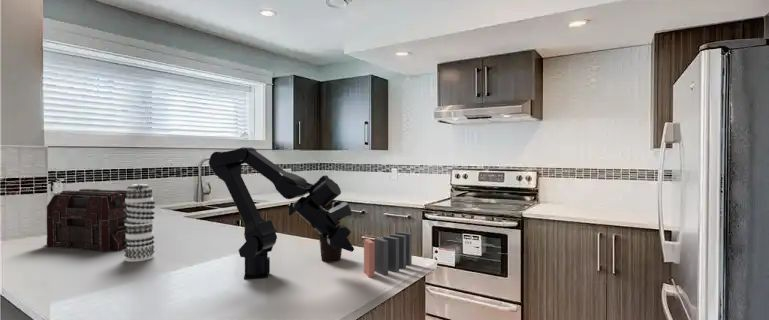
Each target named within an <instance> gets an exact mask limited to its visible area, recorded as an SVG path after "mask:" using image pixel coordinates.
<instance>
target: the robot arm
mask: <svg viewBox="0 0 769 320" xmlns="http://www.w3.org/2000/svg"><path fill="white" fill-rule="evenodd" d="M208 164H209V167H210V169H211V171H212V172H213V173H214V175H215V176H217V178H219V179H220V180H221V181H223V182H224V184H225V186H226V188H227V190H228V193H229V194H230V196H231V199H232V201H233V204H235V207H236V209H237V211H238V213H239V216H240V217H241V219H242V221H243V223H244V232H243V235H244V239H245V242H244V244H242V246H241V247H239V248H238V253H239V257H240V258H244V276H243V279H244V280H246V279H247V280H249V279H259V278H260V279H261V278H268V277H269V274H270V272H271V259H270V258H271V257H270V256H268V253H269V252H270V253H271V252H272V251H273V248H274V246H275V244H276V242H277V239H278V236H277V232H278V231H277V230H276V228H275V226H274V224H273V221H272V220H271V219H267V220H265V219H264V218H263V217H262V216H261V213H260V212H259V210H258V208H257V206H256V203H255V202H254V200H253V197H252V195H251V194H250V191H249V190H248V188H247V185H246V183H245V181H244V179H243V176H242V169H243V166H242V165H244V164H247V165H248V167H250V168H252V169H253V170H254V171H256V172H257V173H258V174H260V175H261V176H263V177H265V178H266V179H267V180H269V181H270V182H271V184H273V185H274V187H275V190H276V191H277V193H279V194H280V195H281V196H282V197H283V198H285V199H286V200H294V199H297V198H298V199H297V200H296V201H295V202H289V204H288V206H287V207H288V215H289V216H292V215H293V214H294V213H295V212H296V213H297V214H298V215H299V216H300V217H301V218H303V220H304V221H306V222H307V223H308V224H309V225H310V226H311V227H312V228H313V229H314V230H315V231H316V232H317V233H318V235H319V234H320V235H321V236H322V237H324V238H326V236H327V242H328V243H329V244H330V245H331V246H332V247H333V248H334V249H337V248H338V247H339V248H342V250H345V251H349V252H353V251H355V247H354V246H353V245H352V243H351V241H350V240H349V238H348V237H349V236H350V234H351V232H352V231H351V230H350V229H349V228H348V227H346V226H345V225H344V224H340V223H341V221H340V220H343V219H344V218H346V217H348V216H351V215H353V211H352V209H351V207H350V205H349V203H348V202H346V201H344V202H343V201H342V202H339V201H338V200H335V199H336V198H338V197H339V196H340V195H341V194H342V190H341V188H340V186H339V184H338V183H337V182H335V181H334V180H333V179H331V178H329V176H328V175H322V176H320V178H319V179H318V180H317V181H316V182H314V183H310V182H308V181H307V180H306V179H305V178H304V177H302V176H300V175H297V174H295V173H292V172H289V171H286V170H284V169H282V168H281V167H279V165H277V164H275V163H274V162H272V161H271V160H270V159H268V157H266V156H264V155H263V154H261V153H259V152H258V151H257V150H256V149H255V148H254V147H252V146H251V147H248V146H247V147H239V148H237V149H233V150H228V151H214V152H213V153H212V154H211V155H210V157H209V160H208ZM306 195H307V196H306ZM334 200H335V201H334ZM332 201H334V202H332ZM331 202H332V206H331V208H330V209H328V210H327V209H326V208H324V207H326V206H327V205H329V204H330V203H331Z"/></svg>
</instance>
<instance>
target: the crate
mask: <svg viewBox="0 0 769 320" xmlns="http://www.w3.org/2000/svg"><path fill="white" fill-rule="evenodd" d="M125 198H126V190H124V189H123V190H122V189H115V190H114V189H113V190H111V189H96V188H91V189H90V188H82V189H81V188H80V189H79V190H61V192H59V193H58V194H53V196H52V197H51V199H50V201H49V202H48V204H47V205H46V248H61V249H77V250H78V249H81V250H83V251H95V252H101V253H108V252H113V251H114V252H120V251H123V250H125V249H126V248H127V247H126V246H125V243H127V242H125V241H124V240H125V239H126V226H125V222H124V219H126V217H125V216H123V215H124V213H125V212H124V211H123V209H124V208H125V206H124V205H123V203H124V202H125Z"/></svg>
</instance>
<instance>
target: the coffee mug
mask: <svg viewBox="0 0 769 320" xmlns="http://www.w3.org/2000/svg"><path fill="white" fill-rule="evenodd" d="M318 241H319V249H320V258H321V259H320V260H321V261H322V262H325V263H336V262H340V261H341V260H342V251H343V249H342V248H339V247H338V248H337V249H334V248H333V247H332V246H331V245H330V244H329V243H328V242H327V236H326V238H324V237H322V236H321V235H320V234H319V233H318Z"/></svg>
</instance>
